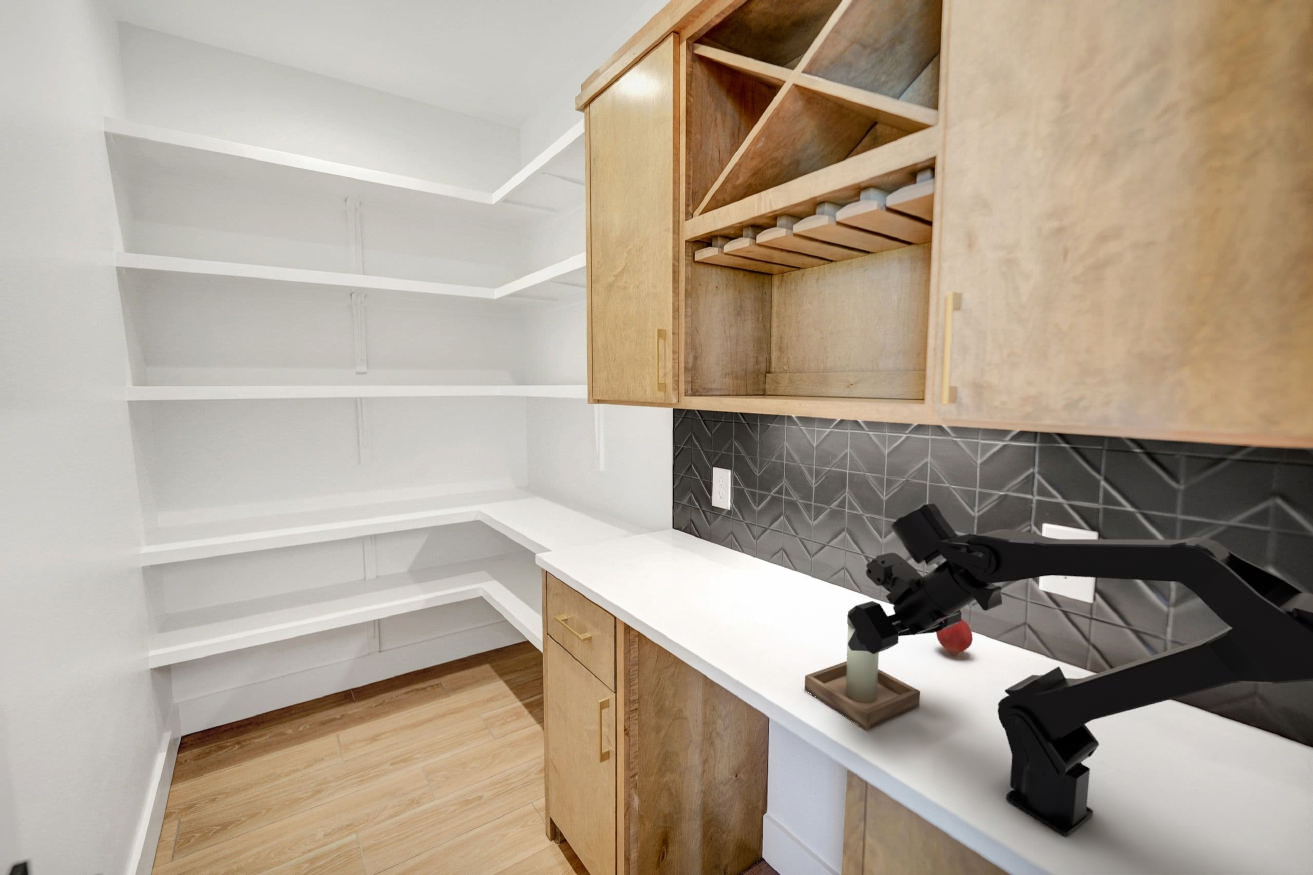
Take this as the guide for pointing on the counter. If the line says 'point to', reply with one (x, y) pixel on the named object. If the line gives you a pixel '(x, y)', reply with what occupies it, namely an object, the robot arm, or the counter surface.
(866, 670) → the spice jar
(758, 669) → the counter surface
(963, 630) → the onion
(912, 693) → the walnut tray
